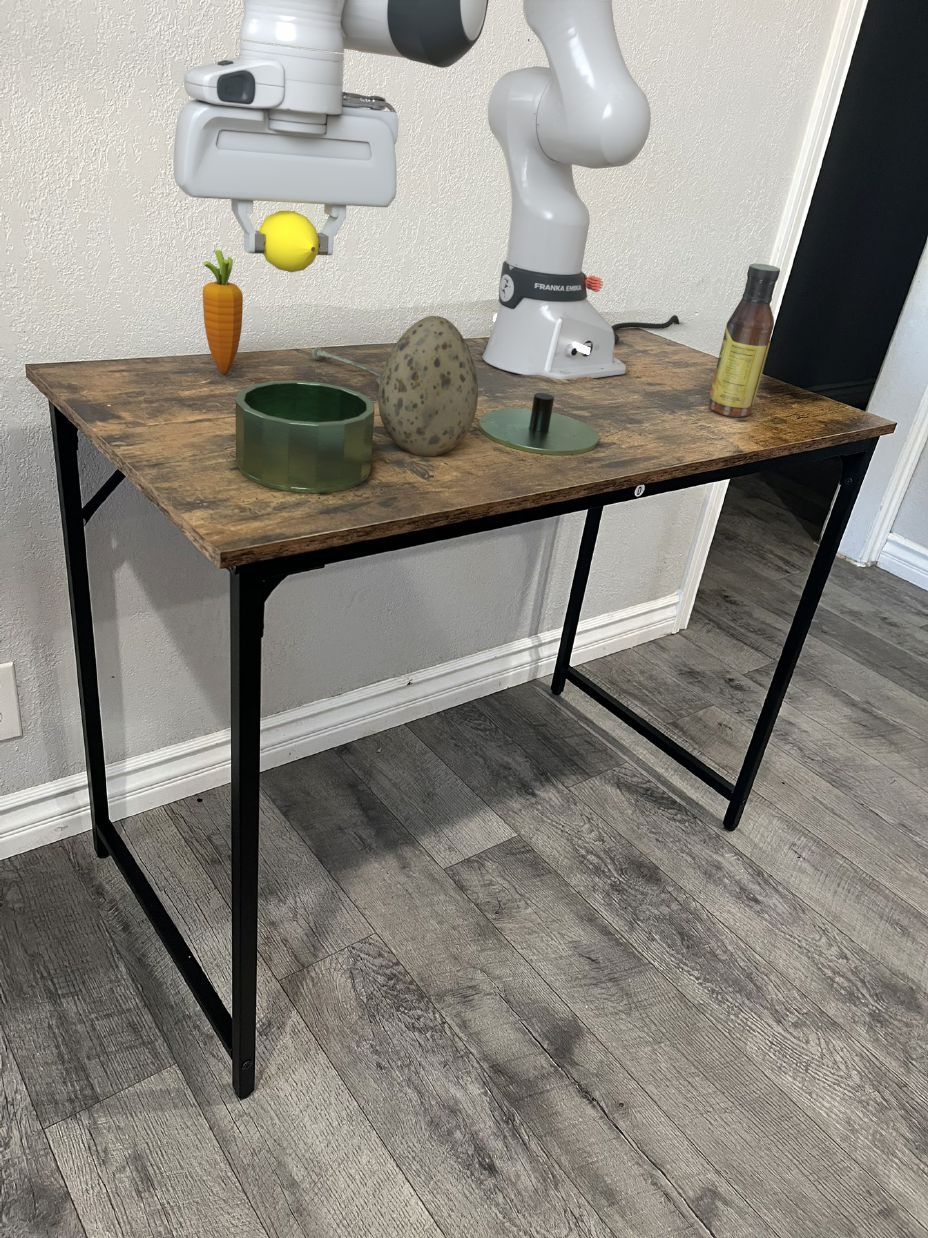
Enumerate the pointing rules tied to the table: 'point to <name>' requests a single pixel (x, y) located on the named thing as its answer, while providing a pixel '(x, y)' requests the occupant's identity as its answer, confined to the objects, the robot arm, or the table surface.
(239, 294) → the carrot
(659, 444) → the table surface
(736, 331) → the sauce bottle
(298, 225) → the lemon
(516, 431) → the pot lid
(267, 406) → the pot
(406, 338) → the decorative egg
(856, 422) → the table surface
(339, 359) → the soupspoon
